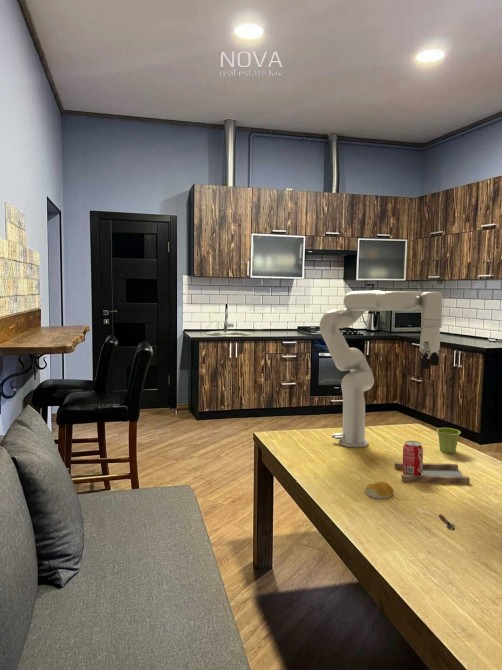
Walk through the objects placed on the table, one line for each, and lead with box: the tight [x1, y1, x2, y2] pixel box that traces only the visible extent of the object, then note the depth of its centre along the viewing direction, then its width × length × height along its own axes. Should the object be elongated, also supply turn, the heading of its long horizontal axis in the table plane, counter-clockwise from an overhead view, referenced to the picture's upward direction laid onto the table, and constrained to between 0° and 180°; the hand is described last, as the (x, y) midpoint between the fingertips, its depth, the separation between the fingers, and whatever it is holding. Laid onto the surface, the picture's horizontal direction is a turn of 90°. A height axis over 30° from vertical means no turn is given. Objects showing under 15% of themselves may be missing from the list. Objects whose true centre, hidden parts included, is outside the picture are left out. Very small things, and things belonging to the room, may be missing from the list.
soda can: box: [402, 440, 424, 475], centre depth 187 cm, size 7×7×12 cm
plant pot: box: [436, 427, 462, 454], centre depth 214 cm, size 9×9×9 cm
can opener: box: [438, 514, 456, 531], centre depth 150 cm, size 9×2×1 cm, turn 179°
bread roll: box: [364, 481, 394, 500], centre depth 171 cm, size 8×9×4 cm
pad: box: [422, 469, 464, 476], centre depth 187 cm, size 14×11×1 cm
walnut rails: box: [394, 462, 471, 485], centre depth 187 cm, size 23×14×2 cm, turn 86°
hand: (430, 367), depth 201 cm, fingers open, 9 cm apart
